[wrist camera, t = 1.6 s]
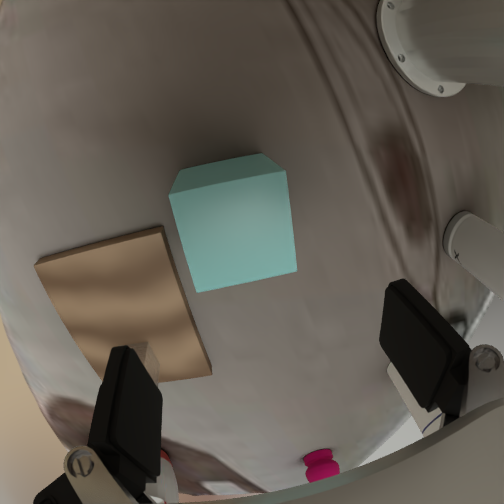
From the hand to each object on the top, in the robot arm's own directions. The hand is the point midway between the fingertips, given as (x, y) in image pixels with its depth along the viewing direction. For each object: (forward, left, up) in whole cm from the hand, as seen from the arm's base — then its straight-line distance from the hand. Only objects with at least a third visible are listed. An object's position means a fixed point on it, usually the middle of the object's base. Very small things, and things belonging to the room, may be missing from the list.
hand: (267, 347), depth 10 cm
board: (+10, -13, -17) cm, 23 cm away
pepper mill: (+57, +7, -17) cm, 60 cm away
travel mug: (+9, +27, -17) cm, 33 cm away
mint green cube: (0, 0, -17) cm, 17 cm away
